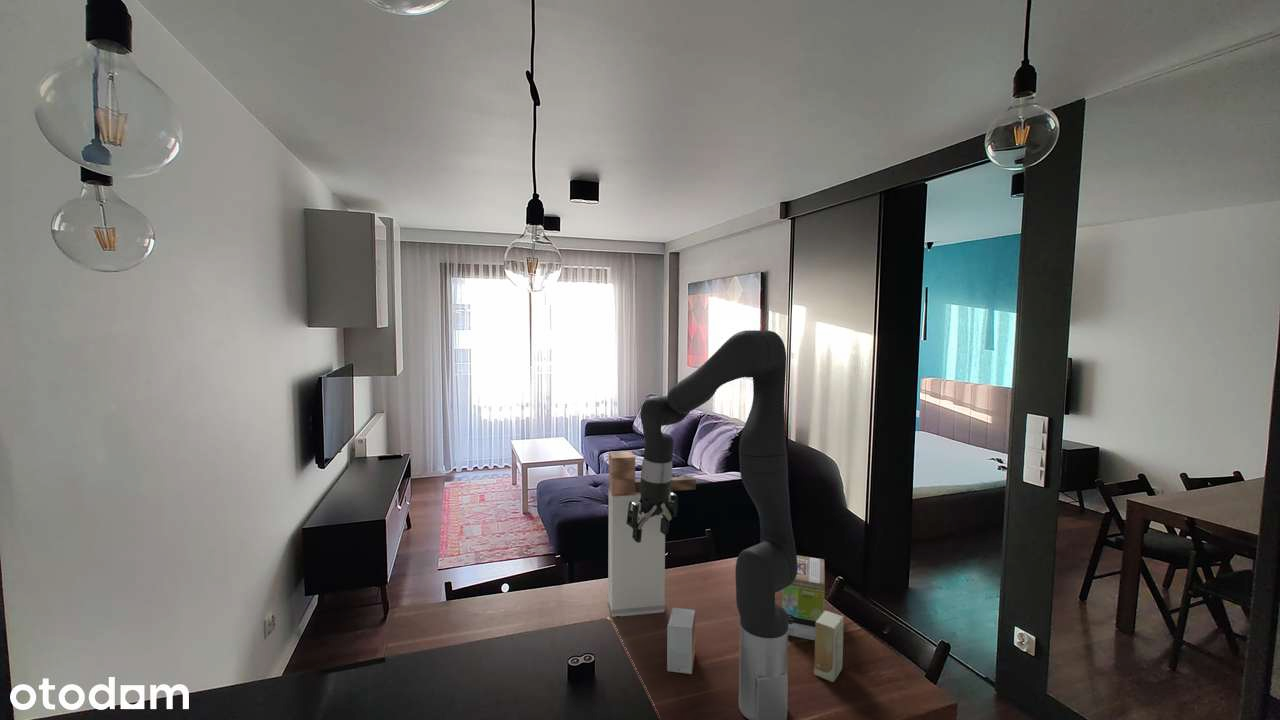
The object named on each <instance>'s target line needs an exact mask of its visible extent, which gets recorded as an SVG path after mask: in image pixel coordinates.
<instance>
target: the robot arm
mask: <svg viewBox="0 0 1280 720" xmlns="http://www.w3.org/2000/svg"><path fill="white" fill-rule="evenodd" d="M786 374H787V351H786V346H785V344H784V340H783V338H782V337H781V336H780V335H779V334H778V333H777V332H775V331H772V330H765V329H764V330H763V329H762V330H755V329H753V330H750V329H749V330H741V331H738V332H736V333H734V334H733V335H732V336H730V337H729V338H728V339H727V340H726V341H725V342H724V343H723V344H722V345H721V346H720V347H719V348H718V349H717V351H715V352H714V353H713V354H712V355H711V357H709V358H708V359H707V360H706V361H704V363H703V364H701V366H699V367H698V368H697V369H696V370H695V371H693V372H692V373H690V374H689V375H687V376H686V377H684V378H683V379H682V380H680V381H679V382H677V383H676V384H674V385H673V386H672V387H671V388H670V389H669V391H668V393H667V395H662V396H661V395H660V396H651V397H648V398H646V399H645V400H644V401H643V403H642V405H641V407H640V412H639V413H640V414H639V415H640V421H641V426H642V431H643V432H642V433H643V437H644V448H643V449H644V450H643V460H642V463H641V470H640V471H641V473H640V479H641V482H640V494H641V498H640V501H639V502H635V503H634V502H633V501H630V502H629V507H628V515H627V522H626V523H627V524H628V525H629V526H630V527H632V528H633V535H632V538H633V539H634V541H636V542H637V543H639V542H641V535H642V526H643V525H644V523H645V522H647V521H648V520H649V518H650V517H653V516H655V515H660V514H661V515H662V517H663V518H661V526H660V532H661V533H663V534H664V535H665V536H666V535H668V532H669V531H670V523H671V520H672V518H675V517H677V516H678V506H679V505H678V504H679V503H678V502H679V495H677V494H676V493H675V492H674V491H673V492H672V491H670V489H671V479H672V477H673V456H674V448H675V447H674V445H675V444H674V443H675V441H674V438H673V437H672V435H670V434H668V433H665V432H662V426H663V427H664V426H670V425H675V424H678V423H681V421H683V420H684V419H686V417H687V416H688V415H689V414H690V413H691V412H692V411H694V410H696V409H698V408H699V407H701V406H702V405H704V404H705V403H707V402H709V400H711V398H712V397H714V395H715V393H716V392H717V390H718V389H719V388H720V387H722V386H723V385H725V384H727V383H730V382H732V381H735V380H739V379H741V378H752V388H753V389H752V390H753V391H752V392H753V394H752V397H753V398H752V404H751V408H750V410H749V412H748V417H747V418H746V421H745V424H744V426H743V429H742V431H741V435H740V438H739V443H738V444H739V446H738V455H739V472H740V478H741V481H742V483H743V486H744V488H745V490H746V492H747V494H748V496H749V497H750V498H751V501H752V502H753V504H754V506H755V507H756V510H757V513H758V517H759V518H758V519H759V526H760V528H759V529H760V540H759V541H760V542H759V543H758V544H755V545H752V546H749V547H748V548H746V549H743V550H742V551H740V553H739V554H738V556H737V558H736V563H735V597H736V598H735V599H736V601H735V602H736V607H737V610H738V613H739V623H740V624H739V657H738V658H739V659H738V660H739V661H738V663H739V666H738V667H739V668H738V669H739V672H738V708H739V710H740V713H741V714H742V715H743V716H744V717H745V718H746V719H748V720H788V693H789V691H788V688H789V686H788V685H789V684H788V683H789V677H788V655H789V654H788V650H789V649H788V648H789V635H788V615H787V612H786V611H785V610H784V609H783V608H782V606H781V605H779V604H777V603H776V593H778V592H780V591H783V589H784V588H786V587H788V586H790V585H791V584H792V583H793V582H794V580H795V578H796V576H797V549H796V543H795V538H794V530H793V525H792V524H793V523H792V518H791V517H792V516H791V503H790V490H789V468H788V467H789V466H788V465H789V463H788V451H787V450H788V448H787V440H786V439H787V438H786V413H785V412H786V410H785V408H786V407H785V406H786V405H785V401H786V400H785V399H786V398H785V396H786V395H785V393H786V392H785V391H786V377H787V375H786ZM642 513H644V514H645V516H642ZM640 519H641V520H640ZM639 520H640V522H639ZM638 522H639V523H638Z"/></svg>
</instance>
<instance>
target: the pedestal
mask: <svg viewBox="0 0 1280 720" xmlns="http://www.w3.org/2000/svg"><path fill="white" fill-rule="evenodd" d="M640 498H641V494H640V492H638V493H635V495H628V496H612V495H611V492H610V490H609V489H608V544H607V545H608V559H607V561H608V562H607V563H608V566H607V567H608V572H607V573H608V576H607V577H608V578H607V579H608V580H607V582H608V583H607V584H608V586H607V587H608V589H607V590H608V591H607V592H608V593H607V601H608V602H607V603H608V606H609V610H610V615H611V617H612V618H617V617H616V616H620V617H628V616H638V615H649V614H659V613H665V609H666V603H665V593H666V592H665V589H666V588H665V587H666V585H665V583H666V579H665V577H666V574H665V572H666V571H665V570H666V563H665V562H666V535H664V534H663V533H661V532H660V526H661V518H663V517H662V515H661V514H660V515H655V516H653V517H650V518H649V520H648V521H647V522H645V523H644V525H643V526H642V535H641V542H639V543H637V542H636V541H634V539H633V538H632V535H633V528H632V527H630V526H629V525H628V524H627V523H626V522H627V515H628V507H629V502H630V501H633V502H634V503H635V502H639V501H640ZM642 516H645V514H644V513H642ZM640 520H641V519H640ZM640 520H639V522H640ZM639 522H638V523H639ZM614 616H615V617H614Z"/></svg>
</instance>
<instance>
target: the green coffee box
mask: <svg viewBox="0 0 1280 720" xmlns="http://www.w3.org/2000/svg"><path fill="white" fill-rule="evenodd" d="M796 555H797V554H796ZM825 563H826V562H825V559H823V558H816V557H810V556H804V555H797V576H796V578H795V580H794V582H793V583H792V584H791V585H790V586H788V587H786V588H784V589H782V606H781V607H782V608H783V609H784V610H785V611H786V612H787V615H788V636H789V637H790V636H791V637H795V638H799V639H800V638H801V639H805V640H811V641H815V622H816V620H817V619H818V618H819V616H820V615H821V614H822V613H823V612H824V611H825V609H824V608H825V588H826V583H825V582H826V576H825V574H826V573H825V572H826V571H825V570H826V569H825V568H826V567H825V566H826V565H825Z"/></svg>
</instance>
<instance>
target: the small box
mask: <svg viewBox="0 0 1280 720" xmlns="http://www.w3.org/2000/svg"><path fill="white" fill-rule="evenodd" d="M666 628H667V629H666V633H667V634H666V636H667V639H666V640H667V641H666V642H667V643H666V645H667V647H666V650H667V651H666V654H667V655H666V663H667V664H666V668H667V669H666V671H667V672H670V673H671V672H673V673H679V674H680V673H681V674H689V675H692V674H693V667H694V661H695V654H696V610H695V609H689V608H688V609H687V608H679V607H671V612H670V616H669V620H668V623H667V627H666Z"/></svg>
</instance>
